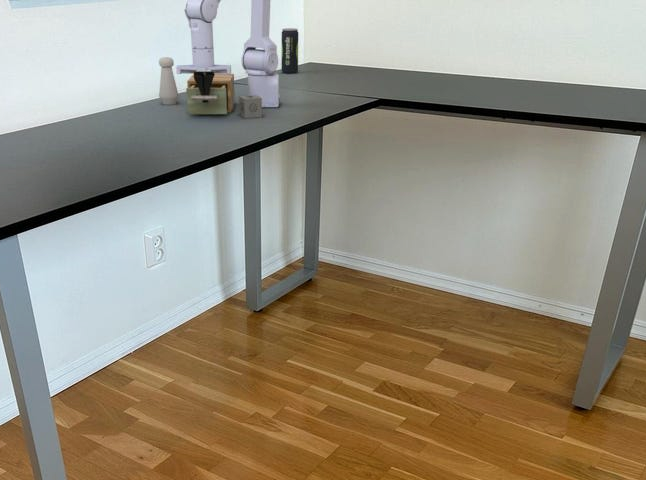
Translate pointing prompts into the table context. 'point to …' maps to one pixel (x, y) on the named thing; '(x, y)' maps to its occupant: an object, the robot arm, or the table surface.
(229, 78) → the tan wooden box
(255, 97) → the dice cube
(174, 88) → the salt shaker
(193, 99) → the drawer
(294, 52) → the beverage can
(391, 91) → the table surface
